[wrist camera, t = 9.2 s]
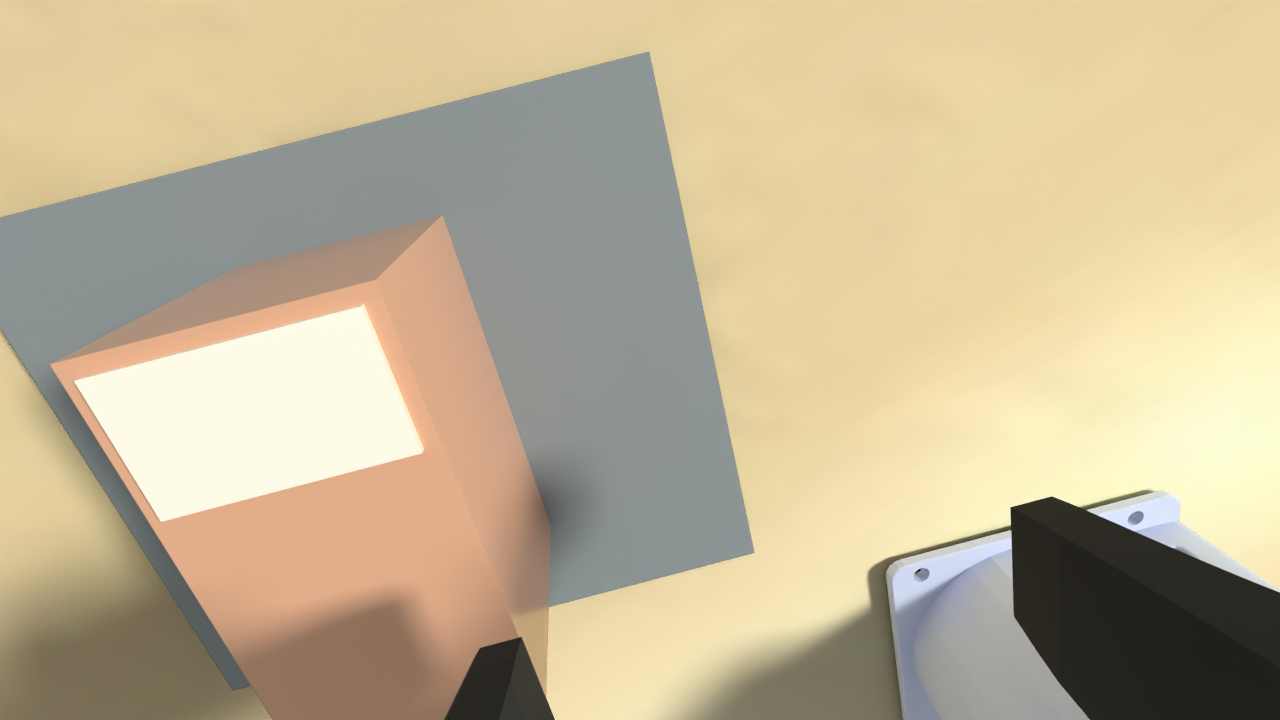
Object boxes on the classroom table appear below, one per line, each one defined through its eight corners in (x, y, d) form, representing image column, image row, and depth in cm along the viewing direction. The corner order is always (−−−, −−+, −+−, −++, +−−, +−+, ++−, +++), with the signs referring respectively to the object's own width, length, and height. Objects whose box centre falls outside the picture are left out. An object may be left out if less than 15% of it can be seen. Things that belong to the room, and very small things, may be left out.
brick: (551, 526, 19) (545, 709, 13) (379, 571, 19) (300, 774, 13) (442, 214, 16) (372, 282, 10) (232, 269, 16) (42, 368, 10)
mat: (645, 53, 15) (649, 51, 15) (749, 540, 21) (754, 552, 20) (-38, 228, 15) (-62, 233, 15) (242, 674, 21) (232, 690, 20)
